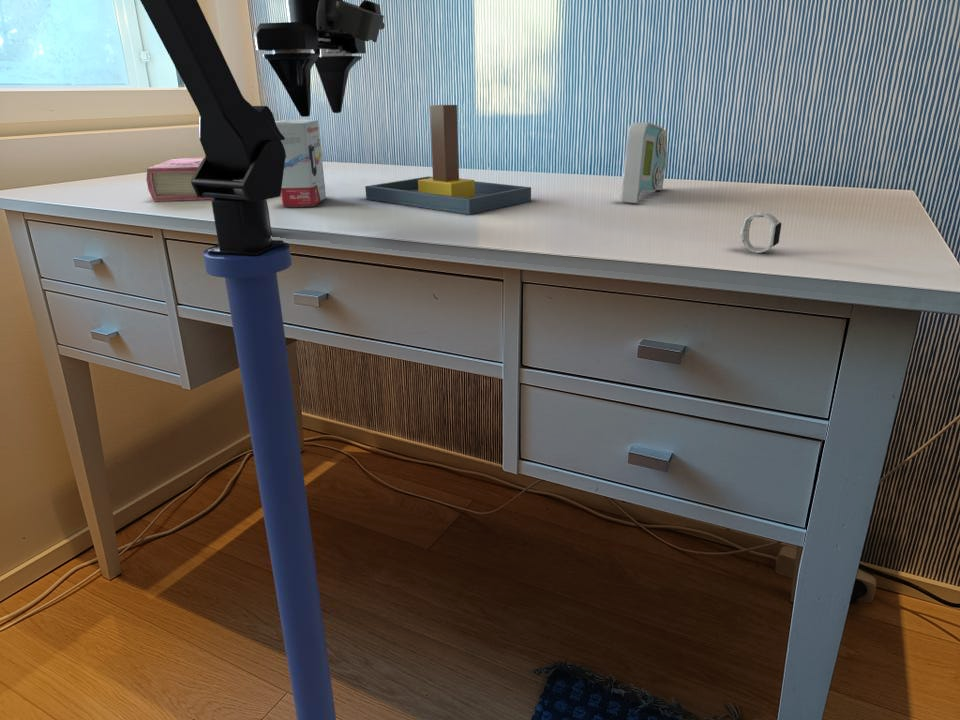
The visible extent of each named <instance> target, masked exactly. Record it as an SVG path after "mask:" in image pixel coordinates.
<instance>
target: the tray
mask: <svg viewBox="0 0 960 720" xmlns="http://www.w3.org/2000/svg"><path fill="white" fill-rule="evenodd" d="M428 178H433V176H428V175H427V176H422V177H416V178H408V179H403V180H396V181H389V182H383V183H377V184H370V185H365V187H364V188H365V200H368V201H375V202H382V203H389V204H396V205H403V206H410V207H416V208H423V209H429V210H436V211H443V212H449V213H450V212H451V213H457V214H464V215H473V214H478V213H482V212H488V211H493V210H496V209H501V208H505V207H508V206H514V205H515V206H516V205H519V204H523V203H528V202H531V201H532V186H523V185H515V184H504V183H494V182H486V181H475V180H474V185H475V197H471V198H462V197H455V196H447V195H439V194H431V193H423V192H419V191H418V180H422V179H428Z"/></svg>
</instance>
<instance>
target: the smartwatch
mask: <svg viewBox="0 0 960 720" xmlns="http://www.w3.org/2000/svg"><path fill="white" fill-rule="evenodd" d="M764 217H765V218H767V219H768V220H769V221H770V222H771V225H770V230H769V233H768V242H767V244H768V247H766V248H764V247H763V248H757V247H755V246H754V245H753V244H752V243H751V241H750V229H751V223H752V221H753V220H754V219H756V218H764ZM781 231H782V222H781V221H779V220H778V218H777V217H776V216H775V215H773V214H772V213H770V212H767V211H759V212H756V213H753V214H750V215H749V216H747V217H746V218H745V219H744V223H743V224H742V225H741V229H740V232H739V233H740V241H741V243H742V245H743V246H744V247H745V248H746V249H747V250H748V251H750V252H751V253H754V254H761V253H765V252H767V251H770V249H772V248H773V247H775V246H776V245H778V244H779V243H780V237H781Z"/></svg>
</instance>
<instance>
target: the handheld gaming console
mask: <svg viewBox="0 0 960 720" xmlns="http://www.w3.org/2000/svg"><path fill="white" fill-rule="evenodd" d="M667 136H668V131H667V130H665V129H663V127H662V126H661V125H658V124H656V123H655V124H654V123H652V122H641V121H640V122H638V121H637V122H636V121H635V122H631V123H630V125H629V127H628V130H627V135H626V142H625V143H626V144H625V152H624V155H625V156H624V163H623V173H622V181H621V182H622V183H621V192H620V193H621V194H620V202H621V203H623V204H634V205H638V204H639V200H640V197H641V196H640V195H641V194H642V193H655V192H656V191H663V189H664V182H665V181H664V180H665V171H666V170H667V165H668V156H669V154H668V137H667Z"/></svg>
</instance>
